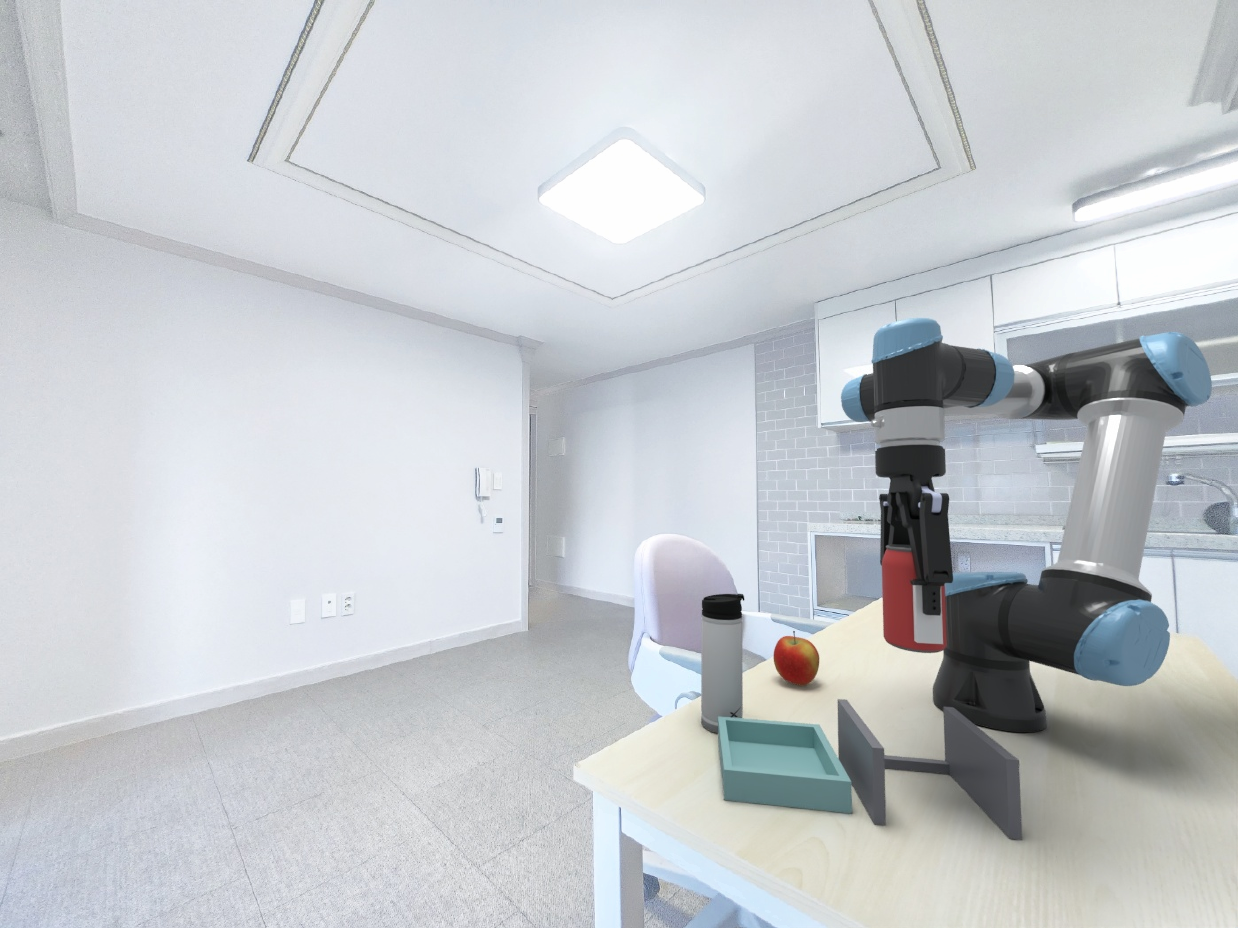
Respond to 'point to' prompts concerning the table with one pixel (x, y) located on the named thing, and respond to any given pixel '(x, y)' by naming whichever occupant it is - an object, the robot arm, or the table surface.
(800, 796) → the tray
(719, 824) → the table surface
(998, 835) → the table surface
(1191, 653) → the table surface
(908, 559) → the beer can
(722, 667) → the travel mug
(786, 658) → the apple
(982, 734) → the bay
